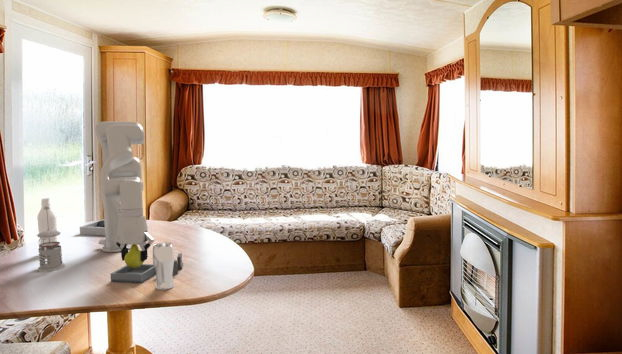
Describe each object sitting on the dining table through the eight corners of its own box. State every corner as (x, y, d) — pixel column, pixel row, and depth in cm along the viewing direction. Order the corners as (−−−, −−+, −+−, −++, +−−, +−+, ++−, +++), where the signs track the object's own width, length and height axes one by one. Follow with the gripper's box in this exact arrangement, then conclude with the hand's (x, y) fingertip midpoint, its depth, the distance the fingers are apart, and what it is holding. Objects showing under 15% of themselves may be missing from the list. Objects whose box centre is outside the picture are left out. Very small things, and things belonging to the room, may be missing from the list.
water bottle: (62, 253, 188) (58, 198, 186) (46, 257, 182) (42, 200, 179) (52, 251, 191) (48, 197, 189) (36, 255, 185) (31, 199, 182)
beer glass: (167, 281, 151) (165, 241, 149) (179, 285, 147) (177, 244, 146) (150, 287, 145) (147, 245, 144) (162, 292, 141) (160, 248, 140)
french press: (44, 273, 162) (39, 209, 159) (29, 268, 168) (24, 206, 165) (70, 266, 170) (65, 205, 167) (55, 261, 176) (50, 202, 173)
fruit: (138, 271, 152) (136, 239, 151) (121, 270, 153) (119, 238, 152) (148, 265, 159) (146, 234, 158) (131, 264, 160) (130, 233, 159)
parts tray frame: (80, 234, 223) (79, 226, 223) (108, 224, 247) (108, 217, 246) (121, 235, 219) (121, 228, 219) (146, 225, 243) (145, 218, 242)
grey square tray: (111, 281, 152) (110, 273, 151) (130, 270, 163) (129, 263, 163) (141, 283, 150) (141, 275, 149) (158, 272, 162) (158, 264, 161)
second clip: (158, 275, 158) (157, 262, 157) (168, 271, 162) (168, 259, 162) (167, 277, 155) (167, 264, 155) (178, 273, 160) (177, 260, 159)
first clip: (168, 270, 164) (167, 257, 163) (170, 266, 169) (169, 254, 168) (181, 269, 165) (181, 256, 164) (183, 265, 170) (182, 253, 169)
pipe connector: (118, 217, 240) (122, 222, 228) (119, 226, 241) (123, 232, 228) (96, 220, 234) (99, 225, 222) (97, 229, 235) (99, 235, 222)
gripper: (104, 214, 152) (107, 262, 154) (148, 215, 149) (151, 264, 151) (116, 210, 159) (119, 256, 161) (159, 211, 156) (161, 257, 158)
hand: (134, 259), depth 156 cm, fingers closed on fruit, 6 cm apart
